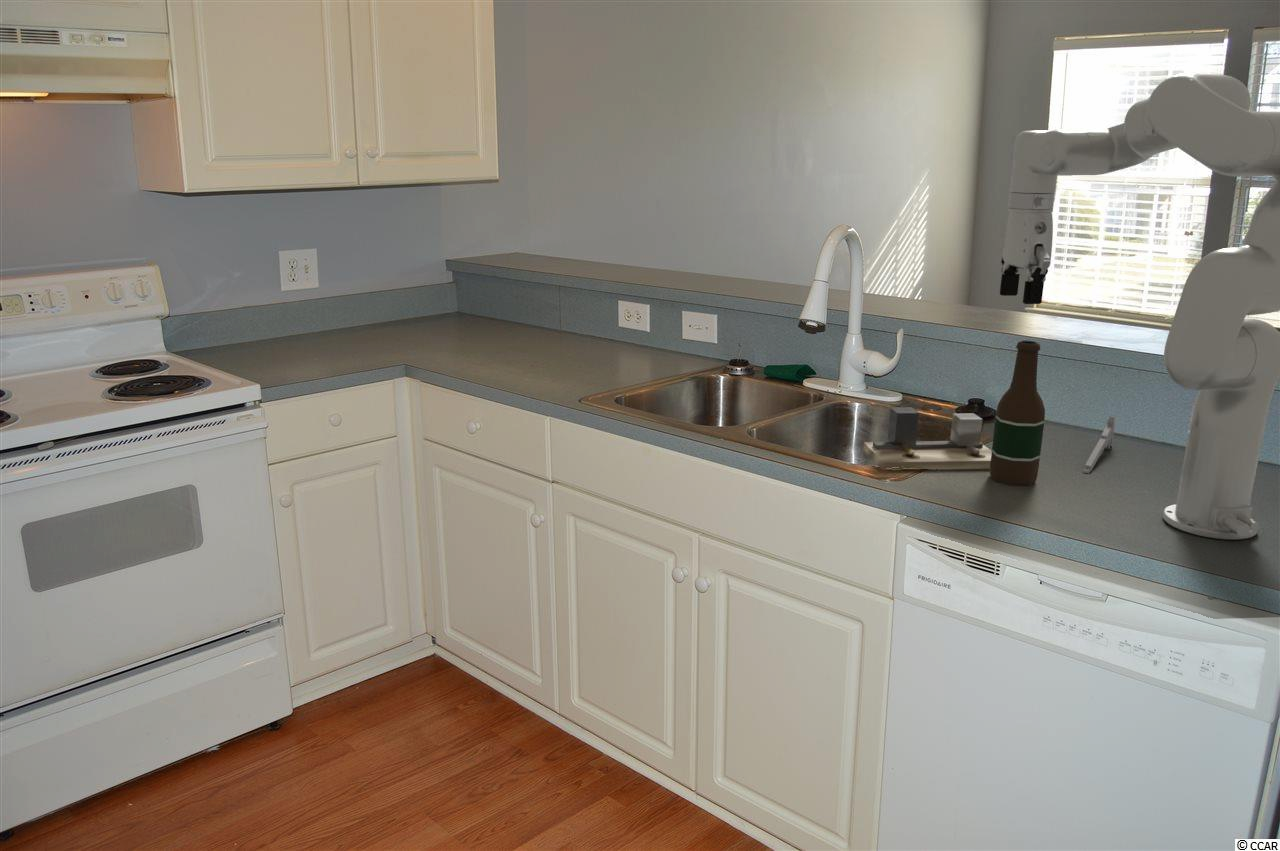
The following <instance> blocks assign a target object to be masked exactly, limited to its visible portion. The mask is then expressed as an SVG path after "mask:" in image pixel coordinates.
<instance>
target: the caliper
mask: <svg viewBox="0 0 1280 851" xmlns="http://www.w3.org/2000/svg"><path fill="white" fill-rule="evenodd" d="M1115 419H1116V417H1113V416H1109V417H1108V419H1107V424H1106V426H1105V428H1104V429H1103V431H1102V433H1101V434H1100V435H1101V436H1100V438H1099V440H1098V442H1097V444H1096V445H1095V447H1094V449H1093V450H1092V452H1091V453H1090V456H1089V458H1088V459H1087V461H1086V463H1085V464H1084V468H1083V470H1082V473H1084V474H1090V473H1091V472H1092V470H1093V468H1094V467H1095V465H1096V464H1097V461H1099V460H1098V459H1099V458H1100V456H1101V455H1102V452H1103V451H1104V449H1106V448H1107V450H1110V449H1111V447H1110V446H1113V442H1114V441H1113V440H1114V434H1115V426H1116V422H1115V421H1116V420H1115Z"/></svg>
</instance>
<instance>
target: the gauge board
mask: <svg viewBox="0 0 1280 851" xmlns="http://www.w3.org/2000/svg"><path fill="white" fill-rule="evenodd" d="M983 421H984V420H983V418H981V417H980V416H979V415H978V414H975V413H974V412H973V413H971V412H970V413H969V412H967V413H952V420H951V430H950V440H933V441H931V440H930V441H929V440H926V441H922V440H921V441H920V440H919V441H917V440H916V445H908V446H909V447H910V448H911V449H913V450H914V456H910V455H908V452H907V451H906V450H905V449H904V448H903V445H894V444H893V443H892V442H891V441H863V447H862V450H863V451H864V453H865V454H866V455H867V456H868V457H870V459H871V460H872V461H873V462H874V463H875V464H876V465H877V466H878V467H879V468H880V469H881V468H882V469H881V470H882V471H894V470H893V469H903V468H917V469H929V470H930V469H931V470H935V471H937V470H990V463H991V454H992V449H991V448H989V447H987V446H986V445H985V444H983V443H982V442H981V437H982V427H983ZM902 466H903V467H902ZM892 467H899V468H892ZM886 468H892V469H886ZM936 469H937V470H936Z"/></svg>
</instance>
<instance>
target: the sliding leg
mask: <svg viewBox="0 0 1280 851" xmlns="http://www.w3.org/2000/svg"><path fill="white" fill-rule="evenodd" d="M919 414H920V413H919V412H918V411H917V410H916V409H914V408H913V407H912V406H908V407H907V406H905V407H904V406H903V407H902V406H901V407H900V406H899V407H893V406H892V407H889V418H888V419H889V420H888V428H887V429H888V430H887V440H889V442H892V443H893V444H894V445H903V448H904V449H905V450H906V451H907V452H908V455H910V456H914V450H913V449H911V448H910V447H909V446H908V445H916V441H917V436H918V435H917V434H918V426H919V416H920V415H919Z"/></svg>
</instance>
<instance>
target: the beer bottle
mask: <svg viewBox="0 0 1280 851" xmlns="http://www.w3.org/2000/svg"><path fill="white" fill-rule="evenodd" d="M1015 348H1016V349H1017V351H1016V352H1017V353H1016V359H1015V363H1014V369H1013V375H1012V380H1011V382H1010V386H1009V388H1008V389H1007V390H1006V391H1005V392H1004V393H1003V395H1002V396H1001V398H1000V400H999V402H998V404H997V407H996V411H995V412H996V413H995V419H994V428H993V438H992V447H991V451H992V454H991V463H990V469H989V475H990V477H991V478H992V479H993V480H994V481H995V482H996V483H1000V484H1004V485H1007V486H1014V487H1016V486H1017V487H1018V486H1019V487H1027V486H1030V485H1033V484H1034V483H1036V482H1037V478H1038V474H1039V467H1040V460H1041V452H1042V444H1043V437H1044V436H1043V435H1044V428H1045V421H1046V420H1045V418H1046V416H1045V415H1046V410H1045V405H1044V401H1043V399H1042V398H1041V396H1040V394H1039V392H1038V386H1037V385H1038V384H1037V381H1038V380H1037V376H1038V361H1039V360H1038V358H1039V351H1041V344H1040V343H1039V342H1036V341H1033V340H1022V341H1018V342H1017V344H1016V347H1015Z"/></svg>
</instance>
